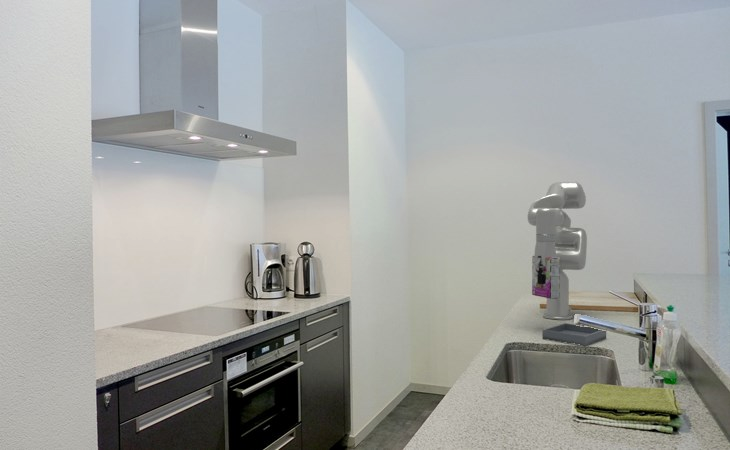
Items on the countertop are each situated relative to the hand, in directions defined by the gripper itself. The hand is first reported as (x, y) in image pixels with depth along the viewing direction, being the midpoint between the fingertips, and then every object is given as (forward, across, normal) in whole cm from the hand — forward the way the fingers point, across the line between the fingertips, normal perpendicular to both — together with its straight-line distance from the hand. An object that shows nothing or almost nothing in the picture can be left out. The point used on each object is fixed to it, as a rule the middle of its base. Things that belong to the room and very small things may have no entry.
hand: (545, 282), depth 223 cm
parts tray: (+19, +6, +15) cm, 25 cm away
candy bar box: (+6, 0, 0) cm, 6 cm away
